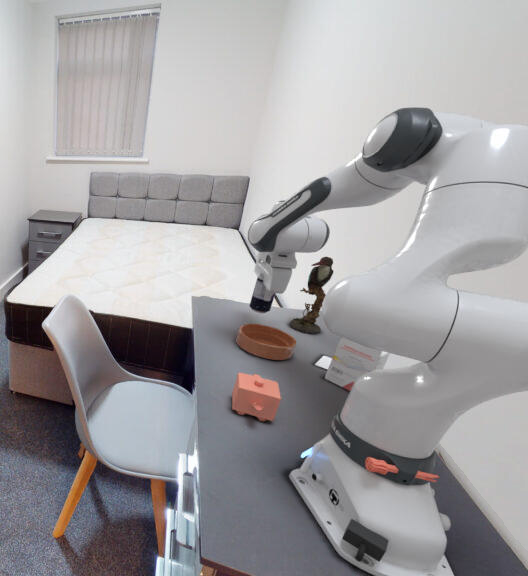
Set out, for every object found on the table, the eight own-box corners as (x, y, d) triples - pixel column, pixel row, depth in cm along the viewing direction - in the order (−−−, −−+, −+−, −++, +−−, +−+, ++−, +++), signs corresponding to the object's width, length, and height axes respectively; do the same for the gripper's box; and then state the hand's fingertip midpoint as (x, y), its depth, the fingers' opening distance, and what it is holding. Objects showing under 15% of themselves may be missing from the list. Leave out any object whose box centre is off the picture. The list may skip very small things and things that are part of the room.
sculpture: (280, 329, 121) (304, 257, 112) (296, 318, 129) (320, 250, 120) (309, 340, 115) (337, 264, 106) (325, 328, 123) (352, 256, 114)
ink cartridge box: (373, 392, 92) (397, 341, 86) (362, 397, 90) (386, 345, 84) (333, 373, 99) (354, 325, 93) (323, 378, 97) (343, 328, 91)
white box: (314, 364, 102) (315, 362, 102) (323, 355, 107) (324, 353, 107) (351, 378, 96) (352, 376, 96) (359, 368, 101) (360, 366, 101)
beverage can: (272, 315, 115) (283, 279, 111) (252, 313, 116) (263, 277, 112) (264, 307, 121) (275, 273, 116) (246, 305, 122) (255, 271, 117)
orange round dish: (298, 365, 102) (303, 351, 100) (241, 355, 106) (245, 342, 104) (282, 341, 114) (287, 328, 113) (231, 332, 119) (235, 320, 117)
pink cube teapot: (231, 421, 81) (240, 391, 78) (231, 391, 91) (239, 363, 88) (273, 434, 78) (284, 403, 75) (268, 401, 87) (278, 372, 84)
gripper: (255, 244, 121) (244, 283, 127) (273, 262, 103) (259, 307, 109) (277, 246, 119) (265, 285, 125) (299, 265, 102) (284, 310, 107)
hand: (263, 295), depth 117 cm, fingers closed on beverage can, 5 cm apart
